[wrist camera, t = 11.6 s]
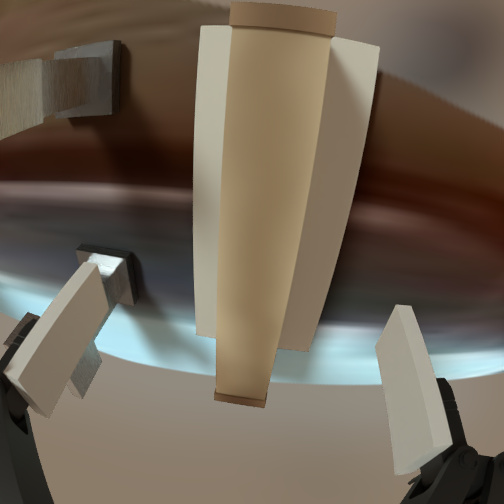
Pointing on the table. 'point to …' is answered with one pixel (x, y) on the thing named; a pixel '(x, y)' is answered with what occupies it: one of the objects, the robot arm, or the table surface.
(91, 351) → the post far
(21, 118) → the post near
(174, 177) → the table surface
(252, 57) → the rail
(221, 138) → the mat
